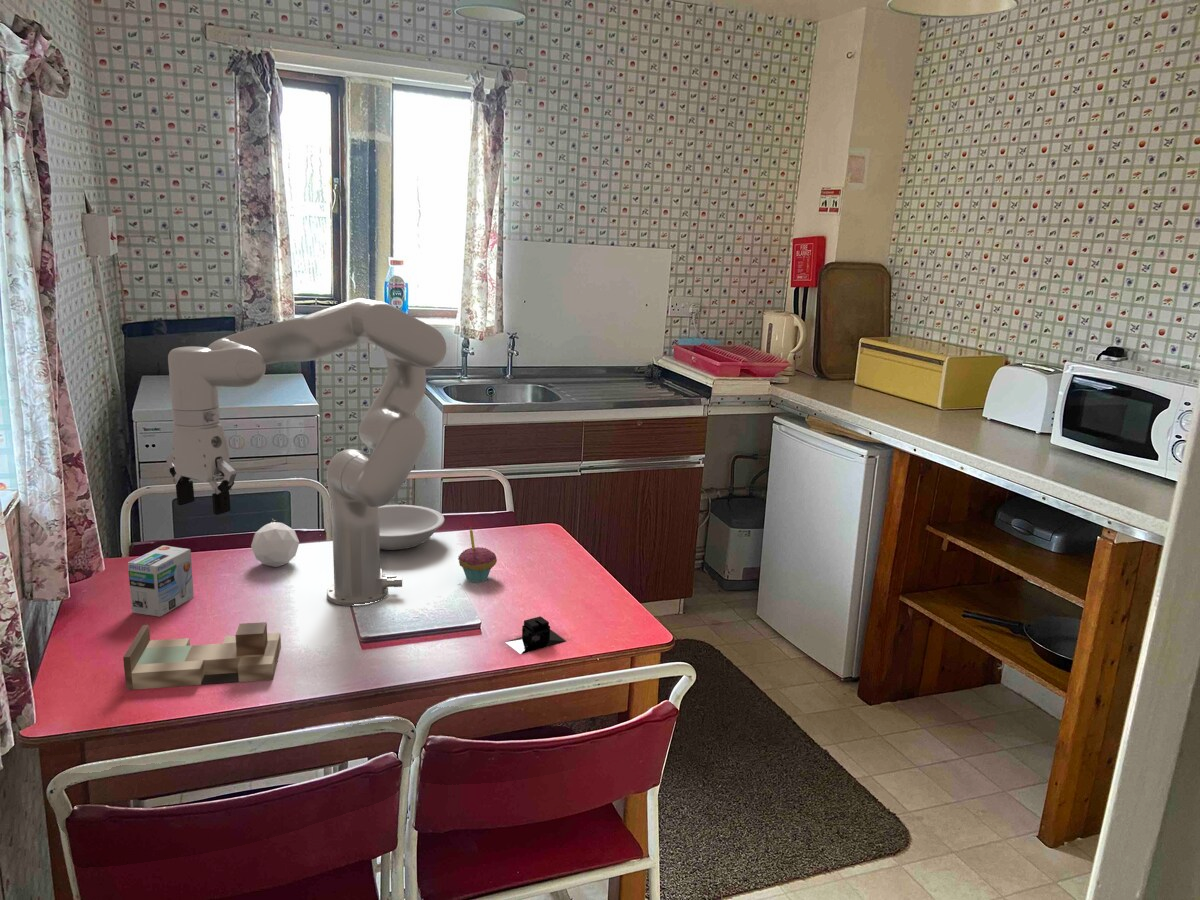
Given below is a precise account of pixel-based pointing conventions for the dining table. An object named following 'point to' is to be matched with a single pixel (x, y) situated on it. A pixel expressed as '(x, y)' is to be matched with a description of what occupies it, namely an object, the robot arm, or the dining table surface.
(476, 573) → the cupcake
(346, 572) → the robot arm
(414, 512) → the soup bowl
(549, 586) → the dining table surface
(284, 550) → the ornament
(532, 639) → the build plate
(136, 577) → the light bulb box
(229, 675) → the track
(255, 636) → the walnut block
